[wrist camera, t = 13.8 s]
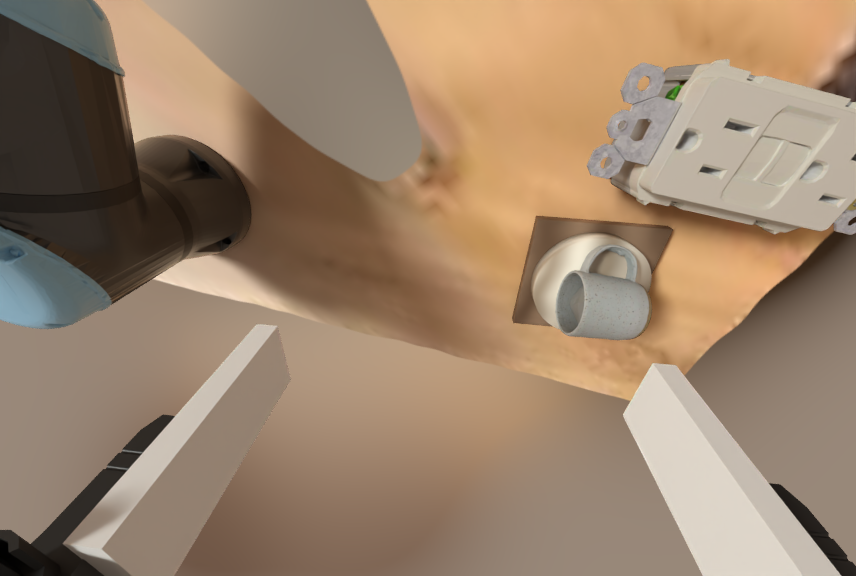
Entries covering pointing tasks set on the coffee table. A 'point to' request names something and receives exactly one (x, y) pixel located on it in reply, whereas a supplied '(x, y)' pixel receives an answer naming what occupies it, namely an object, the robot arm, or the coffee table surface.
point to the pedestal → (580, 259)
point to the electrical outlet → (734, 147)
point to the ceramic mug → (603, 301)
